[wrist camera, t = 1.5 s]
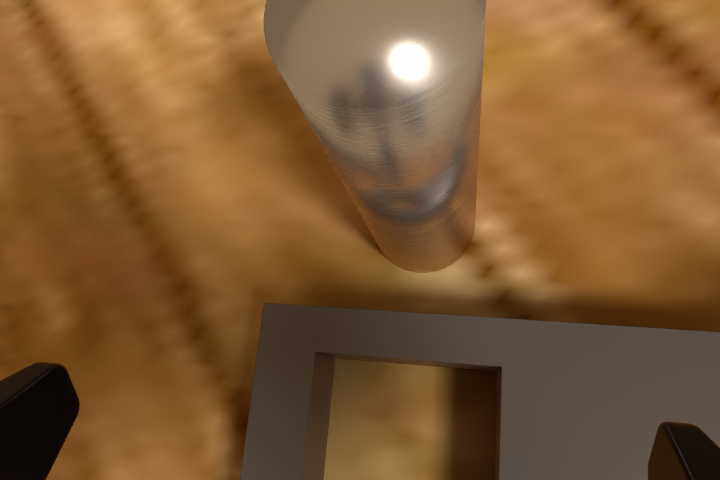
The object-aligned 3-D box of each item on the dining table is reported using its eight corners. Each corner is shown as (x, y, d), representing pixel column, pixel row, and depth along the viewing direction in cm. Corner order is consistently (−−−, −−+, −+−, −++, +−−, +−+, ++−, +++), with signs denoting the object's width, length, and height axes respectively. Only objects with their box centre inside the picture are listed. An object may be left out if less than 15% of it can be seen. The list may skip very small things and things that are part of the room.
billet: (444, 290, 21) (416, 142, 9) (355, 243, 23) (223, 56, 10) (493, 201, 22) (526, -50, 10) (403, 160, 23) (333, -111, 11)
